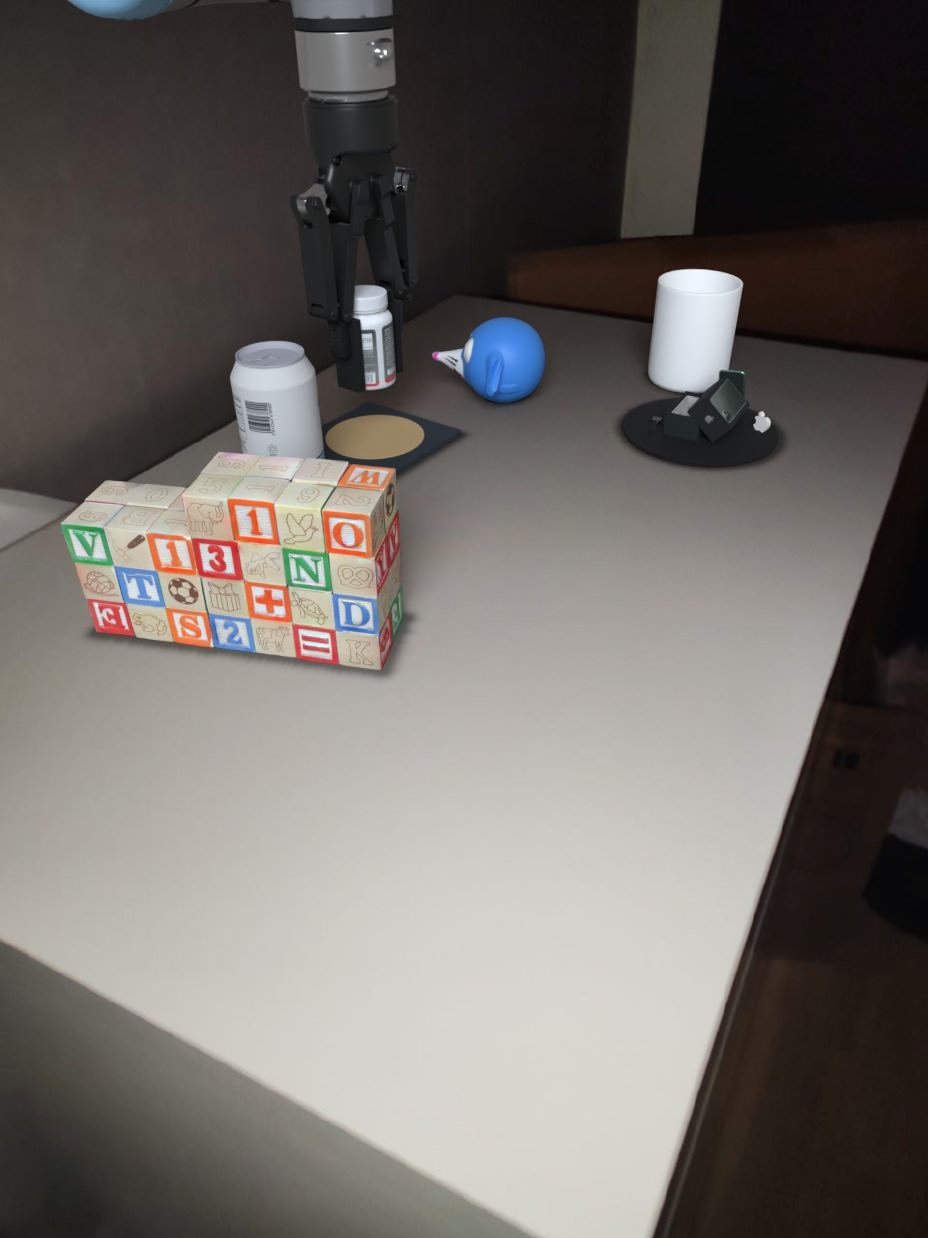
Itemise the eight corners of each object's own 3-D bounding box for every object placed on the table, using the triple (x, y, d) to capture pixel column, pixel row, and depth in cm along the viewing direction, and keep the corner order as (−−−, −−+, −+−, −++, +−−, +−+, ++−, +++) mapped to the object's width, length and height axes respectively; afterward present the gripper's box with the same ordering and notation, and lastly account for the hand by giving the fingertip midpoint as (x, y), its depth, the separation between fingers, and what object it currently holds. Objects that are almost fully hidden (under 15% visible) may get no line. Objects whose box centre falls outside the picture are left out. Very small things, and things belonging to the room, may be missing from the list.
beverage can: (343, 484, 81) (330, 352, 74) (279, 512, 77) (258, 376, 70) (296, 459, 85) (280, 331, 78) (233, 484, 81) (209, 353, 74)
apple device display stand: (753, 481, 82) (764, 424, 79) (599, 445, 88) (603, 391, 85) (794, 418, 93) (806, 366, 89) (653, 390, 99) (660, 340, 95)
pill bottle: (380, 368, 88) (375, 279, 83) (405, 384, 85) (401, 292, 80) (336, 378, 86) (328, 288, 81) (360, 395, 83) (353, 302, 78)
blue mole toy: (444, 372, 103) (442, 297, 98) (549, 379, 101) (552, 302, 96) (420, 417, 94) (417, 336, 89) (535, 425, 92) (539, 343, 87)
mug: (736, 360, 105) (753, 264, 99) (719, 400, 96) (736, 297, 90) (662, 351, 108) (673, 256, 101) (639, 389, 99) (650, 288, 92)
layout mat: (191, 499, 80) (190, 493, 80) (368, 406, 96) (368, 400, 96) (289, 541, 75) (288, 534, 74) (461, 435, 90) (460, 428, 90)
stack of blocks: (93, 635, 65) (44, 481, 58) (135, 585, 70) (95, 438, 62) (383, 671, 61) (370, 512, 54) (406, 616, 66) (397, 464, 59)
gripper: (305, 112, 64) (337, 422, 78) (455, 83, 75) (459, 357, 89) (231, 104, 67) (274, 401, 81) (385, 77, 79) (399, 342, 93)
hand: (371, 378), depth 85 cm, fingers closed on pill bottle, 5 cm apart
